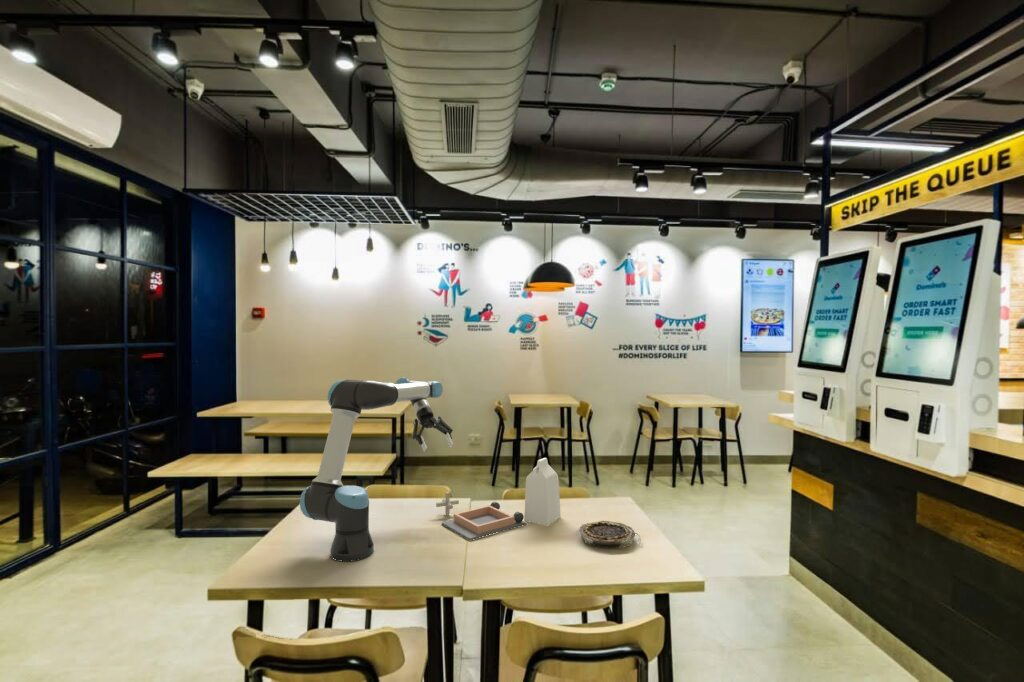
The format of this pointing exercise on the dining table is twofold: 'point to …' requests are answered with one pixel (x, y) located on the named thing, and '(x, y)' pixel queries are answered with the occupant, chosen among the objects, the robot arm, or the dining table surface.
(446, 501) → the pipe connector
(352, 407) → the robot arm
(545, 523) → the milk
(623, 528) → the pie
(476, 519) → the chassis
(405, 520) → the dining table surface
